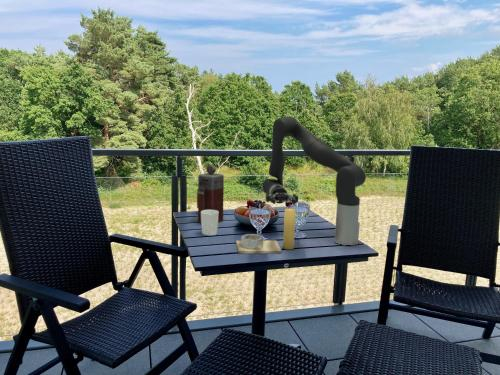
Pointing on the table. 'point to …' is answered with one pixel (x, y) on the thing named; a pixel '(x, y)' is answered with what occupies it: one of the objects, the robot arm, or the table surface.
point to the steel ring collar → (252, 241)
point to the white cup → (209, 222)
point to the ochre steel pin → (289, 229)
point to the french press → (210, 192)
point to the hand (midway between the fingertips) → (284, 201)
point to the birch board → (268, 247)
